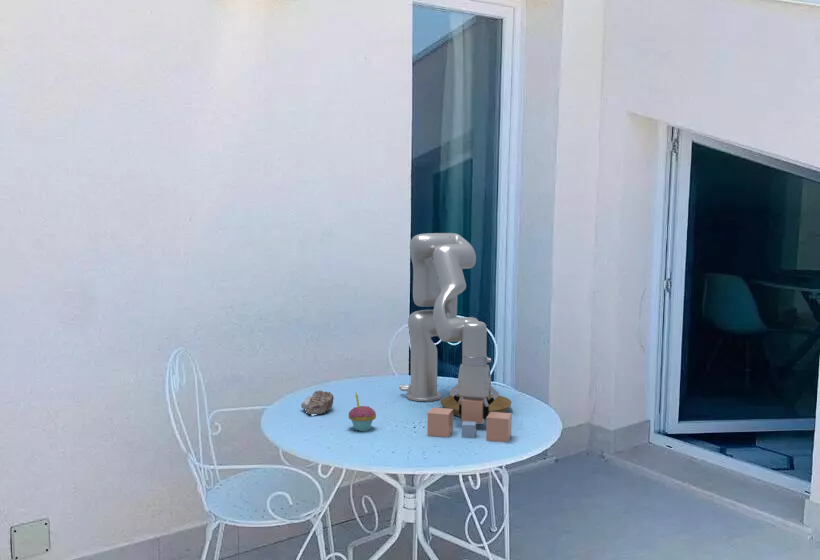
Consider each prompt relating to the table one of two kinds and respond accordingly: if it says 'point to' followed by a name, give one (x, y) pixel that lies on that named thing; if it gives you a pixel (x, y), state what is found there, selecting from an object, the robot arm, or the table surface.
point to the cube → (468, 429)
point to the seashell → (318, 402)
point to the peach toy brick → (440, 422)
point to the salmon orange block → (498, 426)
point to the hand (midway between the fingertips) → (473, 416)
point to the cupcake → (362, 416)
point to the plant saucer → (497, 405)
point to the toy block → (472, 410)
